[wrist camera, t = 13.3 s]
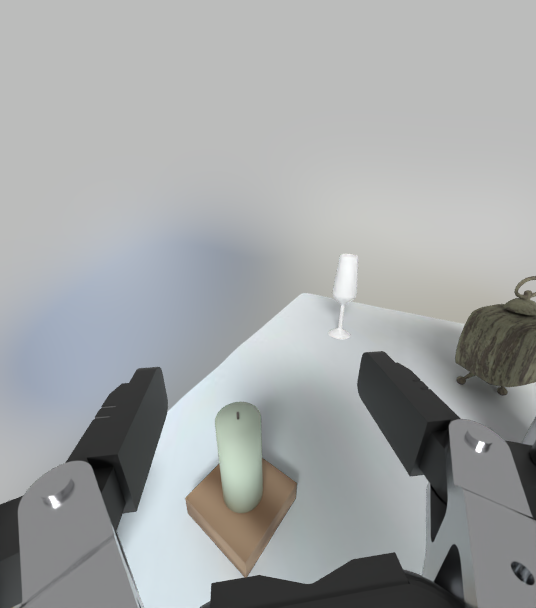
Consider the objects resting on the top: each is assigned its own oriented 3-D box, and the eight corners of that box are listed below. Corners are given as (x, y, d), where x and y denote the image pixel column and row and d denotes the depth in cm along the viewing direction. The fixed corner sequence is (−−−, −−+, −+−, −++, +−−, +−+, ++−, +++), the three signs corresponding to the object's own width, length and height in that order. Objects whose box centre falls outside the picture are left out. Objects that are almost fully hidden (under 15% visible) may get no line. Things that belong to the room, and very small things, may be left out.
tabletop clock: (495, 371, 61) (537, 269, 52) (540, 397, 53) (600, 281, 43) (446, 379, 58) (481, 272, 48) (486, 409, 50) (537, 286, 40)
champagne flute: (325, 336, 76) (334, 256, 67) (330, 327, 82) (338, 252, 73) (349, 341, 74) (360, 258, 65) (352, 331, 79) (363, 254, 70)
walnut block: (241, 455, 40) (240, 442, 39) (295, 497, 34) (296, 483, 33) (187, 512, 32) (185, 497, 31) (245, 578, 27) (245, 563, 26)
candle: (241, 464, 35) (236, 390, 31) (270, 486, 33) (270, 409, 28) (214, 495, 32) (204, 416, 27) (244, 523, 29) (238, 440, 24)
